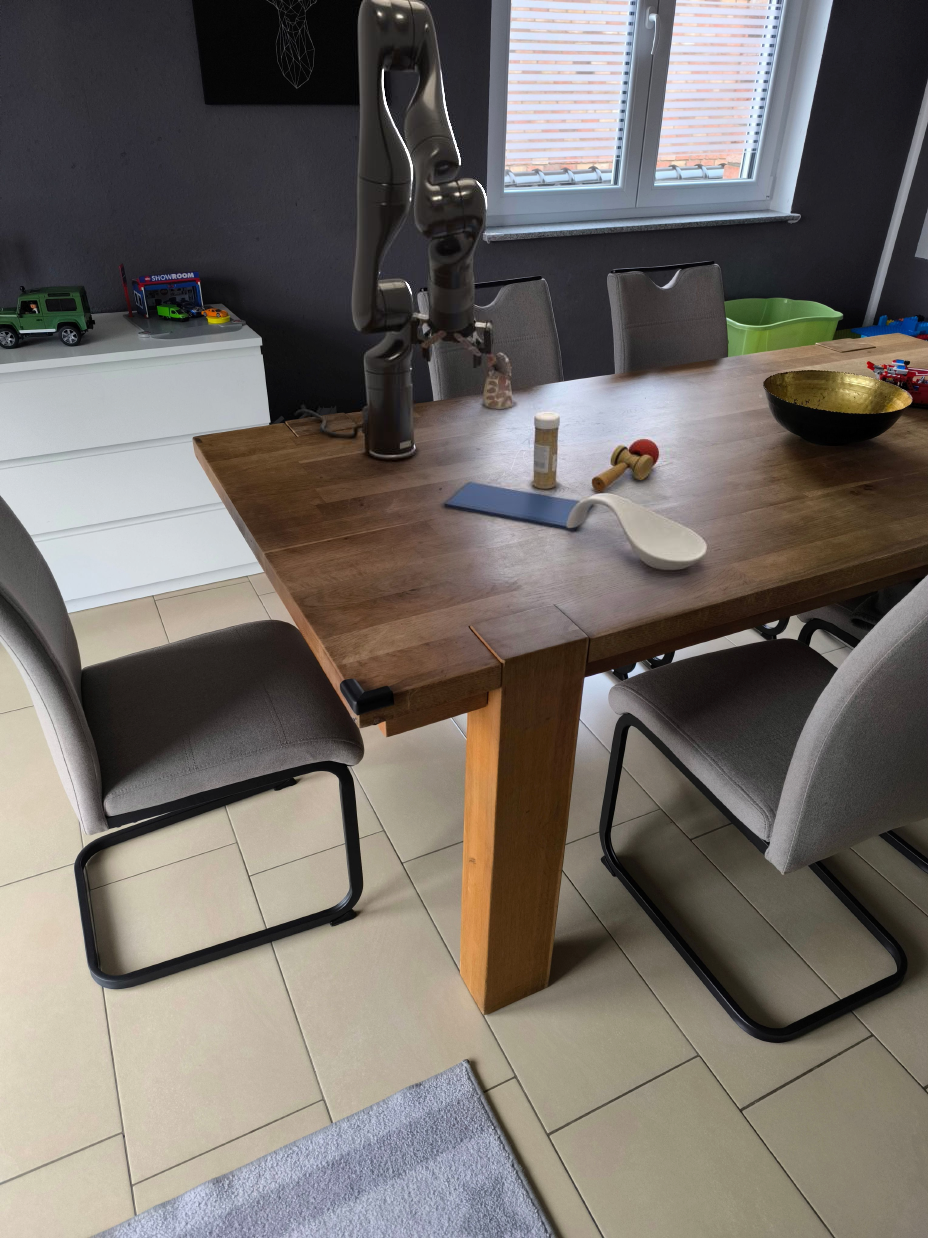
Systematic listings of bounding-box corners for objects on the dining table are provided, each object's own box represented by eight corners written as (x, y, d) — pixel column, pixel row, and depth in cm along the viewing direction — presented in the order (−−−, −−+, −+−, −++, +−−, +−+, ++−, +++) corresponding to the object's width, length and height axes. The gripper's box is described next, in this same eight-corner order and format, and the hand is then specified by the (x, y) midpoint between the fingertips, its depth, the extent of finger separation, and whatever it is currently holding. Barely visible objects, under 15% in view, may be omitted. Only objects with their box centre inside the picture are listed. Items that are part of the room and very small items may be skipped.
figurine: (513, 409, 194) (515, 356, 188) (483, 408, 194) (483, 356, 188) (512, 399, 200) (514, 348, 194) (482, 399, 200) (483, 348, 194)
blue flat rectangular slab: (444, 506, 148) (444, 503, 148) (469, 484, 157) (469, 481, 156) (573, 530, 140) (574, 527, 140) (592, 505, 148) (593, 502, 148)
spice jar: (561, 486, 156) (565, 416, 148) (541, 491, 154) (544, 420, 146) (546, 478, 159) (549, 409, 152) (527, 483, 157) (529, 413, 150)
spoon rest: (716, 561, 131) (725, 520, 127) (678, 589, 123) (686, 546, 119) (592, 514, 144) (596, 475, 140) (551, 537, 136) (554, 496, 132)
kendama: (619, 504, 152) (671, 464, 162) (614, 472, 149) (667, 433, 158) (584, 499, 157) (637, 461, 167) (579, 468, 154) (633, 431, 164)
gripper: (498, 282, 136) (494, 350, 151) (412, 270, 137) (417, 339, 152) (490, 317, 133) (488, 383, 148) (403, 305, 134) (409, 372, 149)
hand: (452, 361), depth 150 cm, fingers open, 8 cm apart
